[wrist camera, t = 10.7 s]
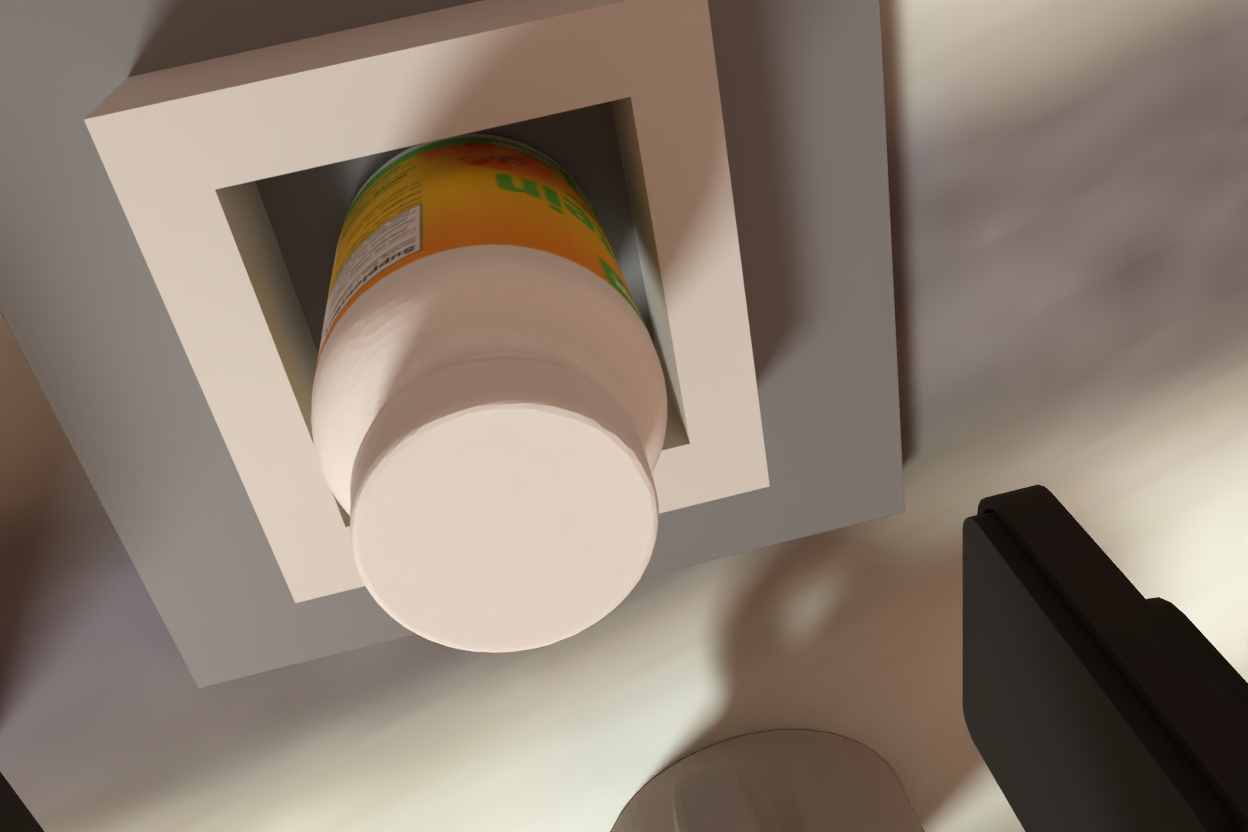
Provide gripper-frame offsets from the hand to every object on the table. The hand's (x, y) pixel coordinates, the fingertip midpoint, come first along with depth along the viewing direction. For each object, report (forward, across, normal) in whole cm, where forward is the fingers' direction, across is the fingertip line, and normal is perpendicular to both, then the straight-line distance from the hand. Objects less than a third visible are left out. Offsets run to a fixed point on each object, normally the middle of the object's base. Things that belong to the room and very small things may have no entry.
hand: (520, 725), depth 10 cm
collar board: (+14, 0, +1) cm, 15 cm away
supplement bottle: (+14, 0, +1) cm, 14 cm away
